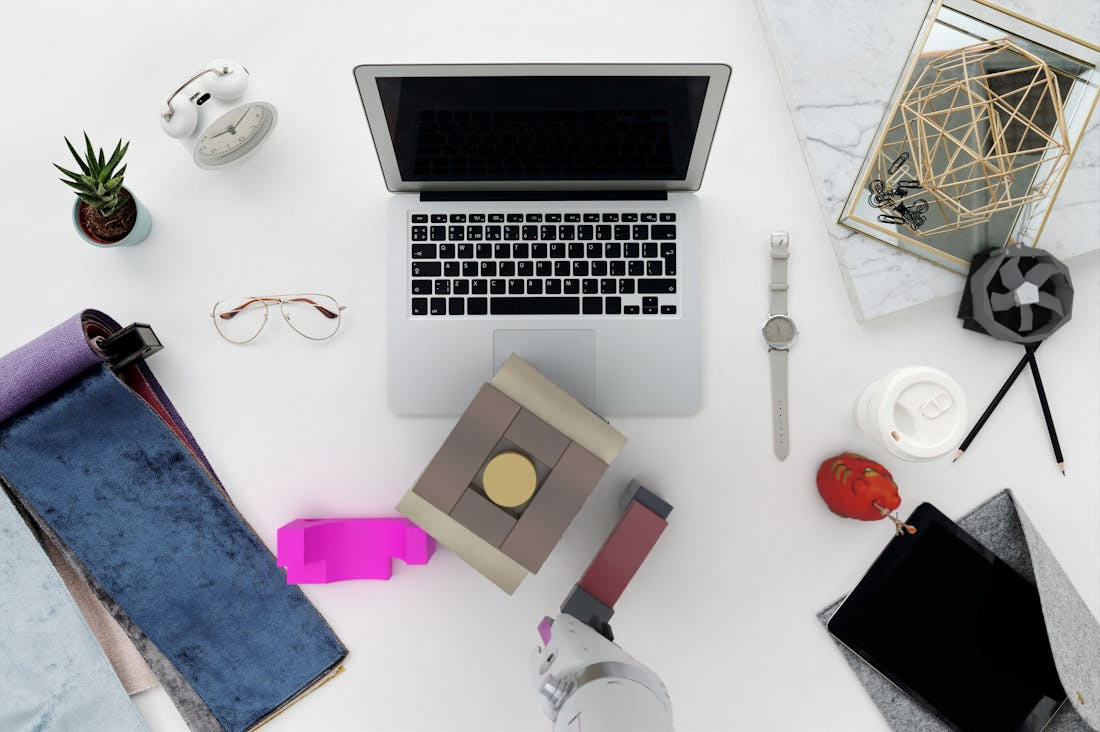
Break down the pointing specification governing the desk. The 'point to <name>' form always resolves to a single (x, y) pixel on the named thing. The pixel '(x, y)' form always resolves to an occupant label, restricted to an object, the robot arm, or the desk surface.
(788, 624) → the desk surface
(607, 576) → the bar
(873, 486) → the red clay folk toy
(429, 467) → the interlocking block puzzle
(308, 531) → the toy block
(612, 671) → the robot arm
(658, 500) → the dark blue-grey long block
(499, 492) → the button
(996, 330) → the cpu cooler
